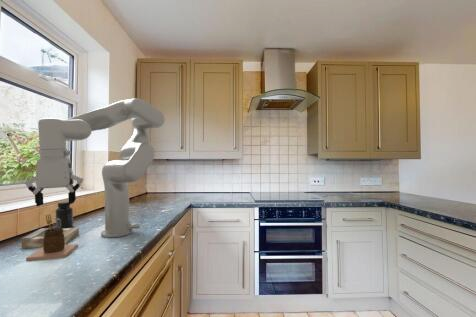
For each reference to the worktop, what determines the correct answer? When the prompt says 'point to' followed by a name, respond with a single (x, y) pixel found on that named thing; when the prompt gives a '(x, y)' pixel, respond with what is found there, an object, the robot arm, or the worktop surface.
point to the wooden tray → (38, 236)
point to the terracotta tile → (60, 254)
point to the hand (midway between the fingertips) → (56, 204)
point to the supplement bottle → (64, 215)
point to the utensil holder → (53, 238)
